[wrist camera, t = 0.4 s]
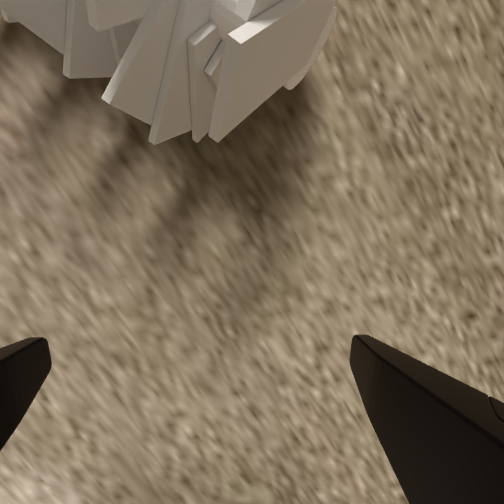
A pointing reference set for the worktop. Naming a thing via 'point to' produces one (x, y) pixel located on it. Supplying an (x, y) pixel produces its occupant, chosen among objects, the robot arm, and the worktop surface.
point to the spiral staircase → (183, 54)
